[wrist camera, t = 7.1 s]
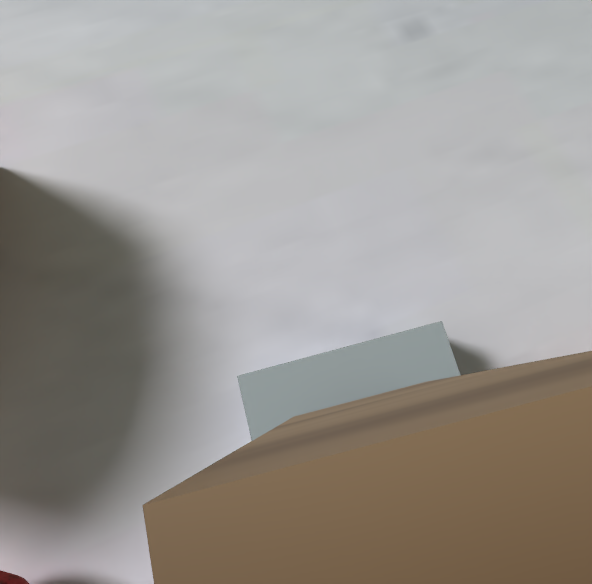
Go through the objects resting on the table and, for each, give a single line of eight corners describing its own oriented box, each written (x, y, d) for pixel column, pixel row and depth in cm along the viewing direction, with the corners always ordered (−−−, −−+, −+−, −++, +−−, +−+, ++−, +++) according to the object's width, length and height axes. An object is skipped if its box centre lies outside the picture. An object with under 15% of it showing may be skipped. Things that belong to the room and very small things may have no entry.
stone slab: (489, 524, 19) (520, 548, 16) (294, 578, 19) (290, 612, 16) (424, 330, 21) (441, 321, 18) (248, 378, 21) (237, 375, 18)
